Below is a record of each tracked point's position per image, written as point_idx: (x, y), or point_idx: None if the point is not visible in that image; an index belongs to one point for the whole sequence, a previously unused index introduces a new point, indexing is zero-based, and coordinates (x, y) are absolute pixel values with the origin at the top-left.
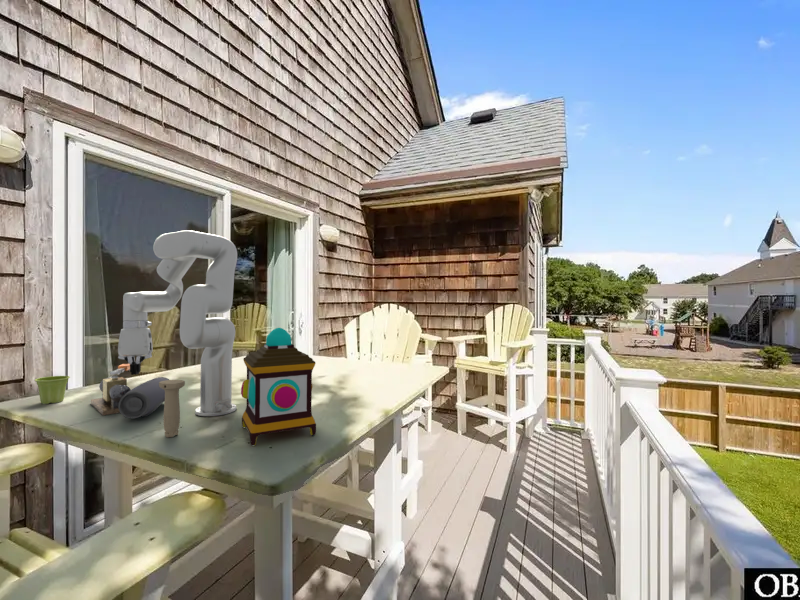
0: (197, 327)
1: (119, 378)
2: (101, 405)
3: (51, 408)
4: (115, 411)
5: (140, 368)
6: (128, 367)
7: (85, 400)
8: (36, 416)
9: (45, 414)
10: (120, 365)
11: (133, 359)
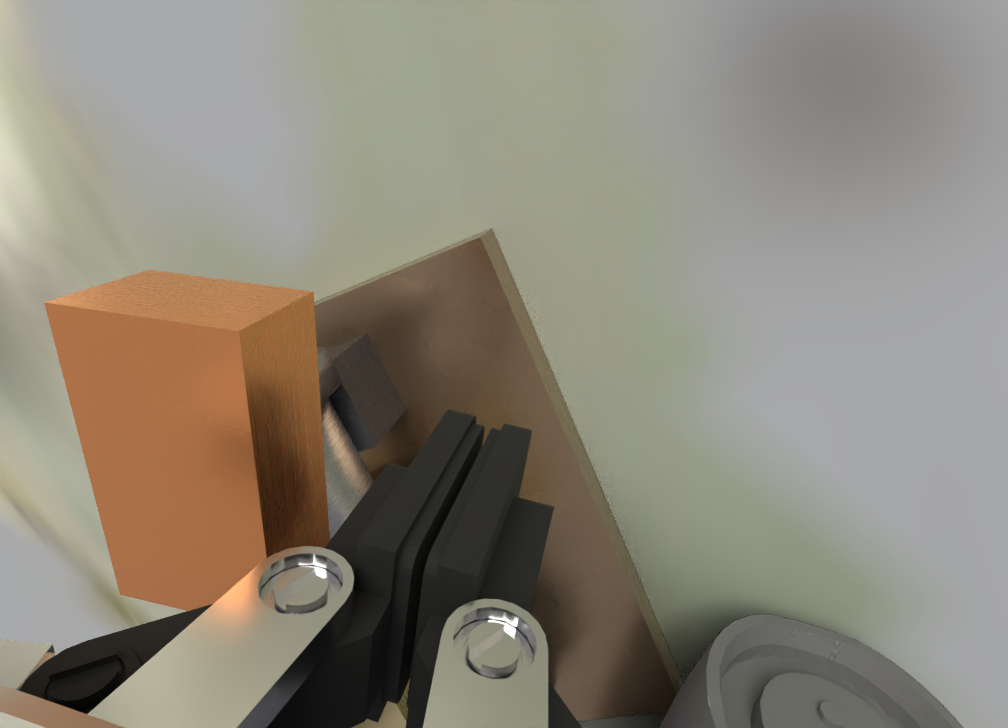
0: None
1: (361, 726)
2: None
3: (22, 368)
4: None
5: (545, 542)
6: (297, 503)
7: (108, 171)
8: (71, 538)
9: (91, 517)
10: (116, 516)
11: (283, 675)
